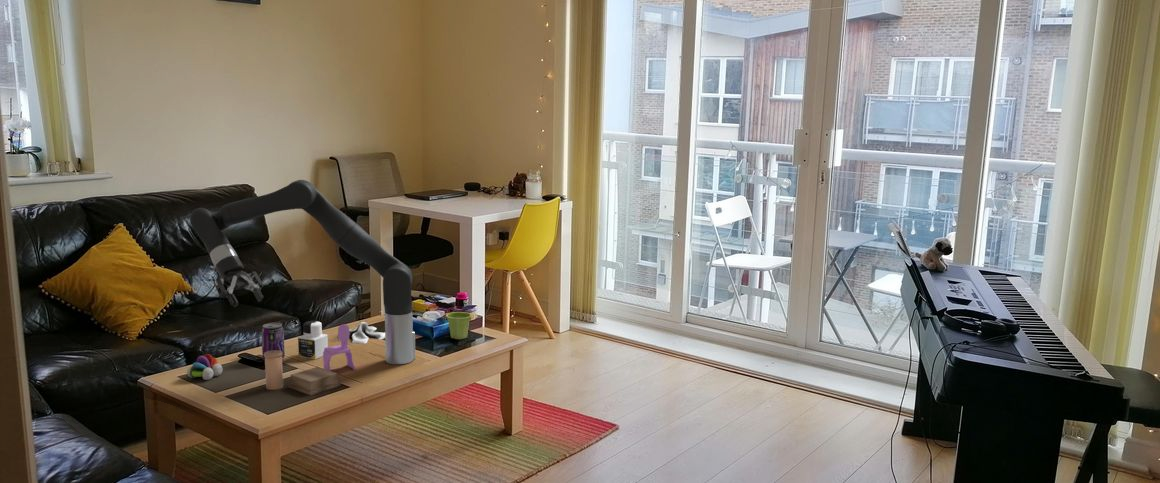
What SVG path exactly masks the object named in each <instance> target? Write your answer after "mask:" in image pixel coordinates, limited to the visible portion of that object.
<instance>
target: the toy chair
mask: <svg viewBox="0 0 1160 483" xmlns="http://www.w3.org/2000/svg"><path fill="white" fill-rule="evenodd" d="M337 329H338V330H337V338H338V341H340V343H341V344H339V345H333V346H328V347H326V348H324V352H323V356H322V358H323V359H322V360H323V361H322V362H323V367H324V368H323V369H326V370H329V371H332V369H331V366H330V364H331V359H332V357H333V356H336V355H339V354H340V355H341V354H344V355H345V358H346V365H347V366H348V367H350V368H351V369H353V370H354V371H356V367H355V364H354V362H353V353H352V352H351V348H348V344H349V339H350V337H349V330H350V327H349V325H348V324H347V323H346V324H345V323H343V324H340V325H339V326H338V328H337Z"/></svg>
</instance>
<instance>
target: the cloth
mask: <svg viewBox="0 0 1160 483" xmlns="http://www.w3.org/2000/svg"><path fill="white" fill-rule="evenodd" d="M357 325H358V324H357ZM376 330H377V327H375V326H373V325H371V326H369V324H368V322H366V321H365V322H364V321H361V322H360V323H359V325H358V326H357V327H355V328H354V329H350V328H349V338H350V337H351V338H352V344H363V345H364V344H368V341H369V339H370V338H375V339H378V340H379V341H380V340H385V331H384V332H379V331H376Z"/></svg>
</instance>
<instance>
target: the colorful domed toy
mask: <svg viewBox="0 0 1160 483" xmlns="http://www.w3.org/2000/svg"><path fill="white" fill-rule="evenodd" d="M222 373H223V366H222V365H221V364H220V363H218V358H216V357H213V356H212V355H211V354H209V353H206V354H204V355H200V356H198V357H197V358H196V362H193V363H192V365H191V366H189V367H188V369H187V376H188V377H189V378H191V379H195V378H197V377H198V378H199V377H202V379H203V380H204V381H208V380H209V381H210V380H211V379H212V378H213V377H219V376H220V375H222Z"/></svg>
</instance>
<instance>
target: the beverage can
mask: <svg viewBox="0 0 1160 483" xmlns="http://www.w3.org/2000/svg"><path fill="white" fill-rule="evenodd" d="M284 335H285V334H284V328H283V325H282V323H280V322H268V323H264V324H263V325H262V329H261V350H262V354H261V355H262V359H263V358H265V357H264V353H265V352H267V351H272V350H279V351H282V353H283V355H282V359H283V358H285V352H286V351H285V336H284Z"/></svg>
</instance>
